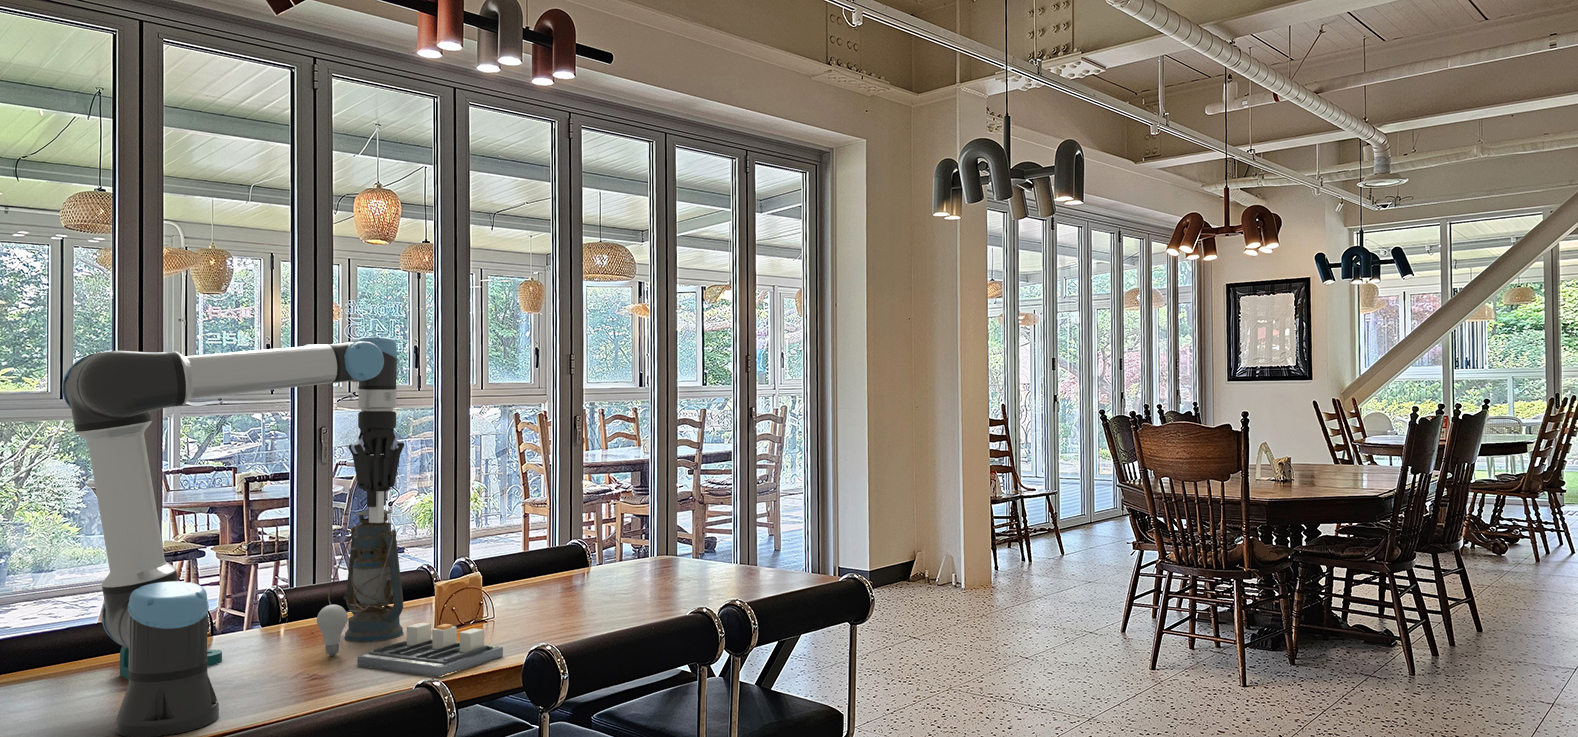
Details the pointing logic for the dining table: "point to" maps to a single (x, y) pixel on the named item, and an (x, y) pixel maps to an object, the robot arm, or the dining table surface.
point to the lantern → (373, 582)
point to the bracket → (212, 659)
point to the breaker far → (418, 633)
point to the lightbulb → (332, 626)
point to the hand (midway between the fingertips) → (376, 522)
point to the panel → (427, 658)
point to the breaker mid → (444, 636)
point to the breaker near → (471, 639)
